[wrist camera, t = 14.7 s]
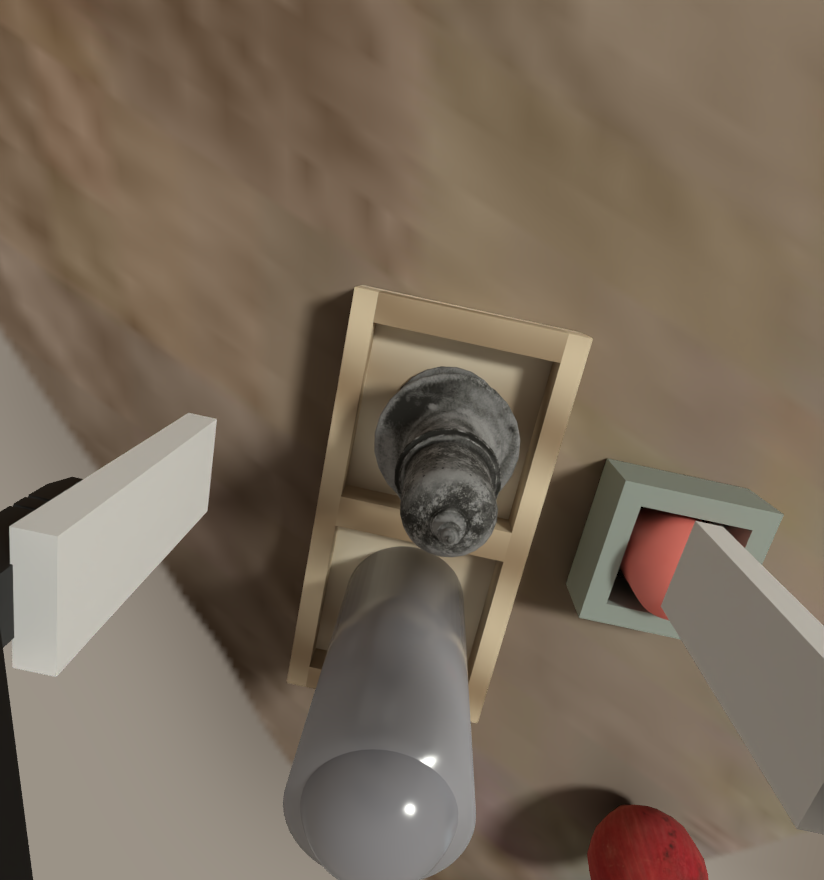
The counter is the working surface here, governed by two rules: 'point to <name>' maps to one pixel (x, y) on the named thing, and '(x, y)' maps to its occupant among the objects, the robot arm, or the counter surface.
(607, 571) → the grey-green square box
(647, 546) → the button
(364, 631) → the pepper pot
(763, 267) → the counter surface
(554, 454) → the tray
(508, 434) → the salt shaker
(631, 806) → the onion
